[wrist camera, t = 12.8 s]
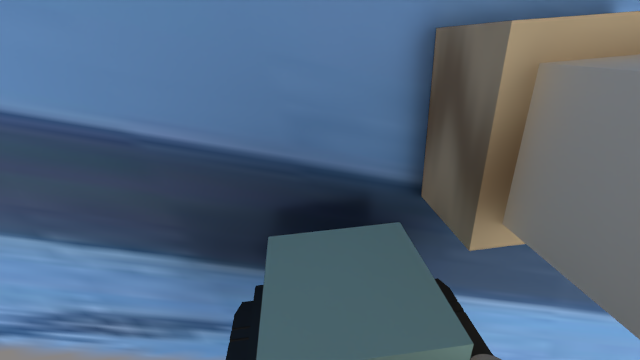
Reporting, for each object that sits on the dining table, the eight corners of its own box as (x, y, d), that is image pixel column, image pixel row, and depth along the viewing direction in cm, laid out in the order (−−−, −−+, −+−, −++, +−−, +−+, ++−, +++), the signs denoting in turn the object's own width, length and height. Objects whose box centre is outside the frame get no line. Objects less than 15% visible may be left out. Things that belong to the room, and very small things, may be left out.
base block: (436, 28, 11) (512, 20, 7) (614, 14, 11) (769, 1, 8) (421, 196, 14) (469, 250, 10) (562, 180, 14) (655, 227, 11)
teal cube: (268, 236, 11) (254, 374, 6) (399, 222, 11) (473, 344, 7) (284, 327, 13) (282, 477, 9) (393, 313, 13) (446, 450, 9)
